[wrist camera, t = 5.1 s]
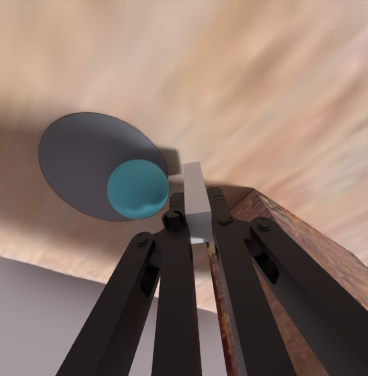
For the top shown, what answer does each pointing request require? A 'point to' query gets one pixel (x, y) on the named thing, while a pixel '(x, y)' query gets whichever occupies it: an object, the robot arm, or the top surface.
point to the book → (295, 343)
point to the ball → (137, 189)
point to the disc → (91, 159)
